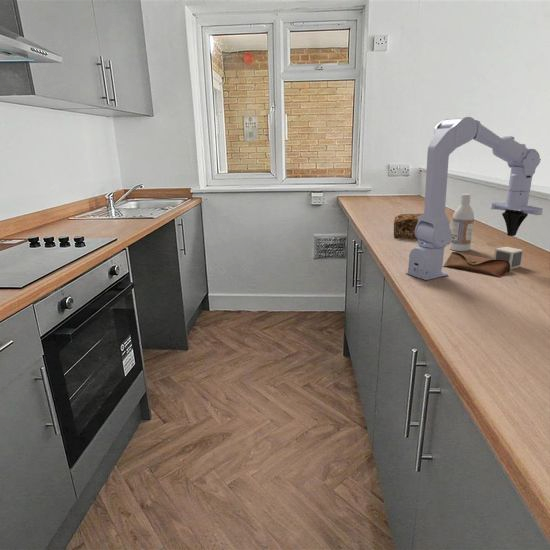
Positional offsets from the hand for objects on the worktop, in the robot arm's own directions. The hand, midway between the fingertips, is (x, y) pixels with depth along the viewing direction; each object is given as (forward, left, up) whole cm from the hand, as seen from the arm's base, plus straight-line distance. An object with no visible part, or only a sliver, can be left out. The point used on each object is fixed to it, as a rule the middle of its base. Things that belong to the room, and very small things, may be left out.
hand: (511, 235), depth 126 cm
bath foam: (+6, +22, -10) cm, 25 cm away
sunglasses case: (-11, +3, -11) cm, 16 cm away
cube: (0, 0, -10) cm, 10 cm away
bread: (+9, +45, -10) cm, 47 cm away
